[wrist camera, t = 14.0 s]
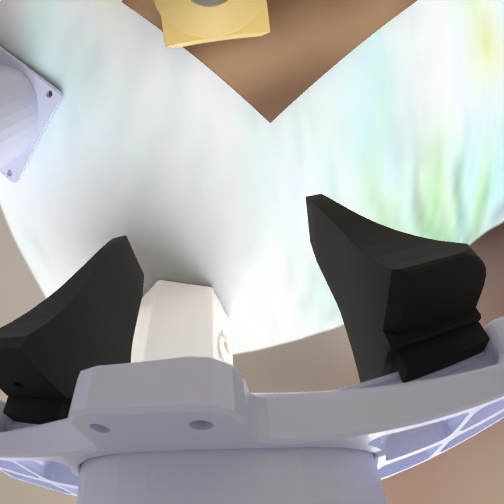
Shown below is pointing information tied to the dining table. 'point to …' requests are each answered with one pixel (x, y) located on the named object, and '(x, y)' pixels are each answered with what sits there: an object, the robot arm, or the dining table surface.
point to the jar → (181, 324)
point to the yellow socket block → (211, 20)
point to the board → (288, 46)
